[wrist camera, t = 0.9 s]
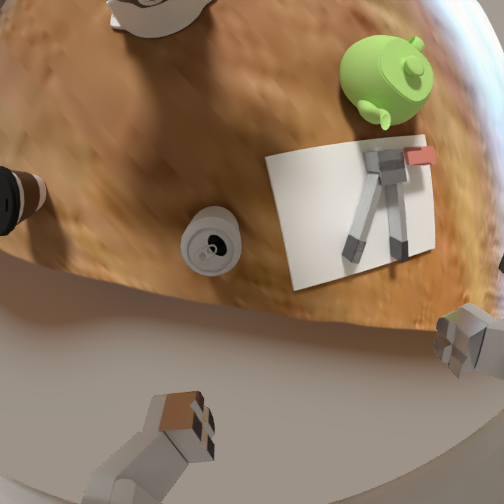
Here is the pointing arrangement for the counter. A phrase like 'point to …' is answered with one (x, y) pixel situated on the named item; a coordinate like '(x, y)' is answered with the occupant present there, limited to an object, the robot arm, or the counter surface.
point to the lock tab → (420, 155)
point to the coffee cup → (18, 197)
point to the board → (343, 208)
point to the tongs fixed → (392, 195)
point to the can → (212, 242)
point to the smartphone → (502, 264)
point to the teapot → (386, 78)
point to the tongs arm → (363, 219)
